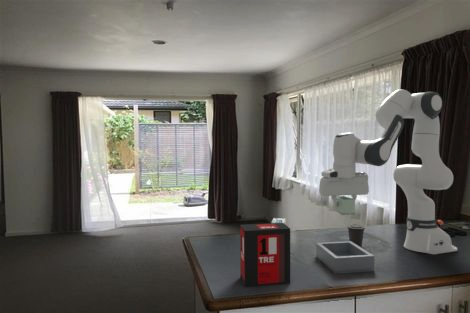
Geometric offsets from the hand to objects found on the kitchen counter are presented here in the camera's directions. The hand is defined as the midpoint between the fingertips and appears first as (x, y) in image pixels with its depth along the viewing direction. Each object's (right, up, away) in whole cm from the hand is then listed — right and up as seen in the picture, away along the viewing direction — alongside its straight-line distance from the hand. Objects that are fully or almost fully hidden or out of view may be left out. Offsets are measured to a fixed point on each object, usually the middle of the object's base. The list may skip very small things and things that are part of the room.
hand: (343, 206), depth 147 cm
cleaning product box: (-34, -25, -16) cm, 45 cm away
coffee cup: (+13, -23, +24) cm, 36 cm away
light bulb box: (-23, -23, +33) cm, 46 cm away
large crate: (0, -24, +1) cm, 24 cm away
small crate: (0, -3, 0) cm, 3 cm away
